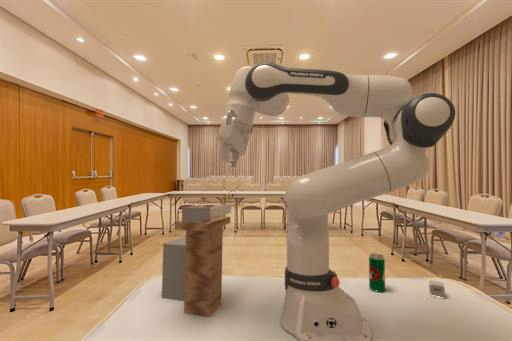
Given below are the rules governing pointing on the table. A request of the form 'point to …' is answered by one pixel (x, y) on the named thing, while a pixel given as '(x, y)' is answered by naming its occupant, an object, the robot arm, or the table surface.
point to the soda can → (377, 272)
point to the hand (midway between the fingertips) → (228, 164)
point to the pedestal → (174, 269)
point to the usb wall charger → (437, 288)
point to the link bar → (203, 213)
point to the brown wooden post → (203, 265)
